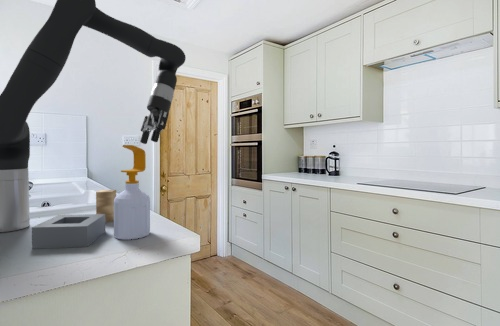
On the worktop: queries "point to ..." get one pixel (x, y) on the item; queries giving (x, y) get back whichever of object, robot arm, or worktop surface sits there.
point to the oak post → (105, 203)
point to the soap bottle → (132, 203)
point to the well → (68, 231)
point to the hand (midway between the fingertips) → (148, 142)
